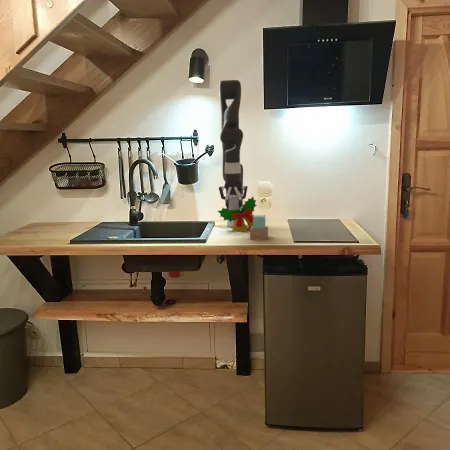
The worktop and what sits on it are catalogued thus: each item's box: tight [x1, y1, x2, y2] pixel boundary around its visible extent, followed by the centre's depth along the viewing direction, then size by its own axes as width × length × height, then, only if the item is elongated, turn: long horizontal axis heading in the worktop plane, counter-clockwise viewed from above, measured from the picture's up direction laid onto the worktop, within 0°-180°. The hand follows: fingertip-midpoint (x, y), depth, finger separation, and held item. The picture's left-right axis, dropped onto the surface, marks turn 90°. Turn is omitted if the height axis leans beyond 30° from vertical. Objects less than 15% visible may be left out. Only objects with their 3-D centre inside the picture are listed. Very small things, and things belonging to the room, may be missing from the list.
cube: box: [253, 214, 266, 229], centre depth 208 cm, size 6×6×6 cm
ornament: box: [217, 196, 258, 232], centre depth 228 cm, size 21×8×15 cm, turn 96°
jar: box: [228, 196, 239, 210], centre depth 212 cm, size 5×5×6 cm
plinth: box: [249, 225, 269, 241], centre depth 209 cm, size 8×8×5 cm
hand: (233, 207), depth 213 cm, fingers closed on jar, 5 cm apart
